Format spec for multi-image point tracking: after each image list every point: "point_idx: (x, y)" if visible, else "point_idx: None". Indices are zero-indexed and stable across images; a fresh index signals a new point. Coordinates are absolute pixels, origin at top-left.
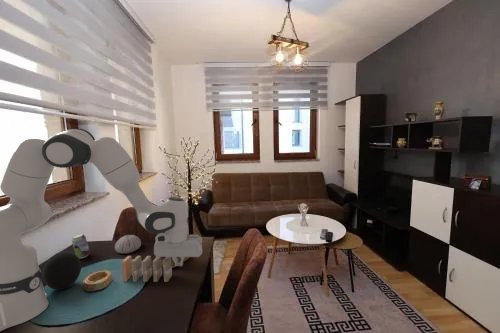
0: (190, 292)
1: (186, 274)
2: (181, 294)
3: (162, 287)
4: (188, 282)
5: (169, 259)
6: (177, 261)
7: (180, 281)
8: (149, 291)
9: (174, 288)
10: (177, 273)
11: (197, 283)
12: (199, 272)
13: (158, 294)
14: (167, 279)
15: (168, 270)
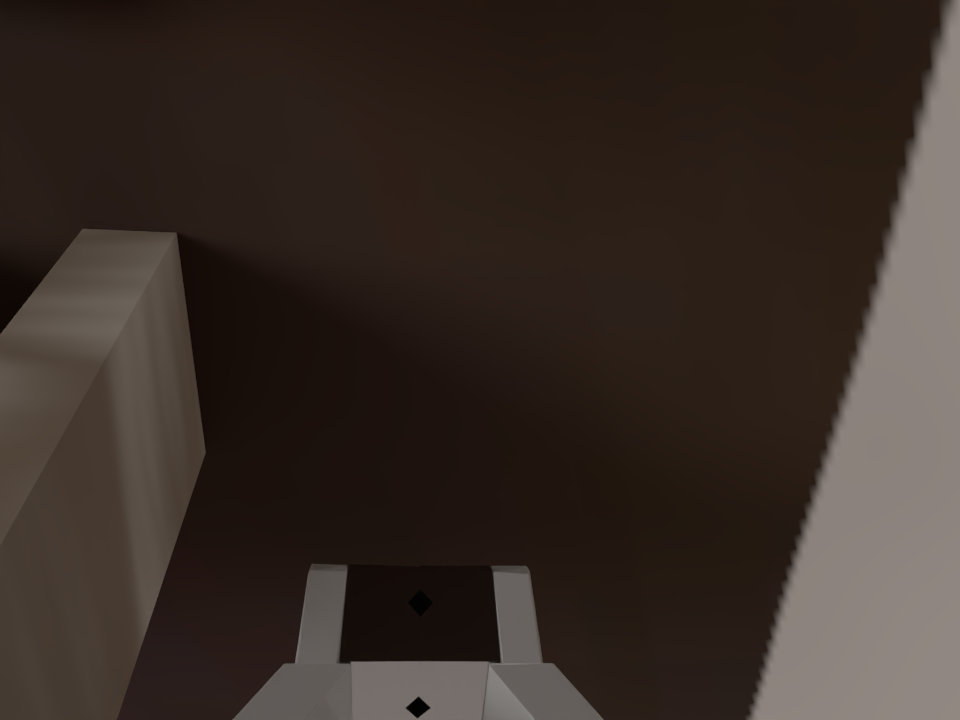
0: (690, 674)
1: (538, 216)
2: None
3: (195, 588)
4: (630, 479)
5: (10, 715)
6: (360, 703)
7: (466, 451)
8: None
9: None
10: (288, 162)
11: (798, 505)
12: (862, 140)
13: (223, 708)
14: (191, 485)
15: (138, 553)
